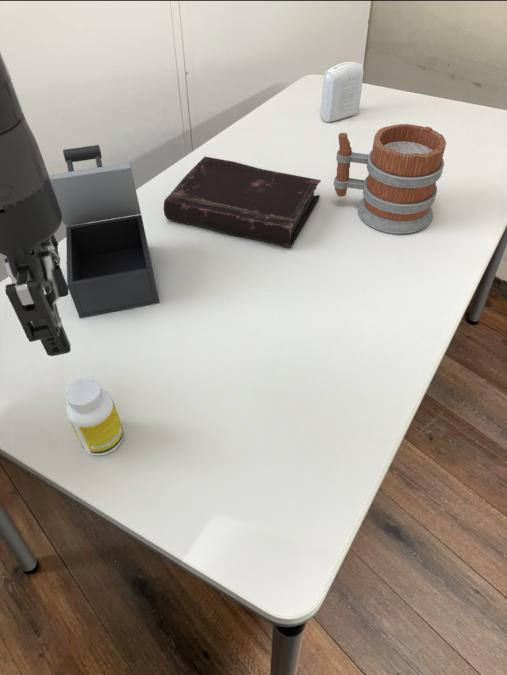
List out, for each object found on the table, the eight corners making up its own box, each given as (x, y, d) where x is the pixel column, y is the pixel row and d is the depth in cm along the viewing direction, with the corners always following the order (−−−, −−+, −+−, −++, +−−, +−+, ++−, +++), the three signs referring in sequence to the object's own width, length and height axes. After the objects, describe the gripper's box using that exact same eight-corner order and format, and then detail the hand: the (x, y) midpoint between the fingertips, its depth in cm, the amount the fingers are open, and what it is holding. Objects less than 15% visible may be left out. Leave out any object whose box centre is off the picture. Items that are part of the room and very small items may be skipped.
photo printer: (350, 108, 131) (356, 56, 122) (361, 114, 128) (368, 61, 119) (317, 118, 127) (321, 65, 118) (328, 124, 125) (332, 70, 115)
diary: (289, 252, 90) (290, 228, 87) (165, 223, 97) (161, 200, 94) (320, 198, 102) (322, 175, 98) (208, 176, 109) (206, 154, 105)
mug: (428, 241, 92) (450, 163, 81) (323, 224, 96) (330, 148, 85) (435, 200, 101) (455, 125, 90) (338, 186, 105) (346, 113, 94)
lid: (130, 168, 71) (123, 132, 72) (37, 181, 69) (30, 145, 70) (141, 214, 87) (135, 185, 88) (65, 226, 85) (60, 196, 86)
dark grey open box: (159, 303, 82) (152, 270, 77) (79, 318, 80) (67, 285, 75) (148, 246, 92) (141, 214, 87) (77, 258, 90) (66, 226, 85)
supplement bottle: (133, 431, 66) (116, 384, 58) (104, 464, 62) (83, 418, 55) (101, 413, 68) (81, 366, 60) (72, 444, 64) (48, 398, 57)
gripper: (-42, 145, 45) (24, 285, 57) (-66, 238, 35) (18, 383, 47) (47, 133, 46) (92, 273, 58) (46, 219, 36) (101, 365, 48)
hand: (59, 322), depth 52 cm, fingers open, 8 cm apart
